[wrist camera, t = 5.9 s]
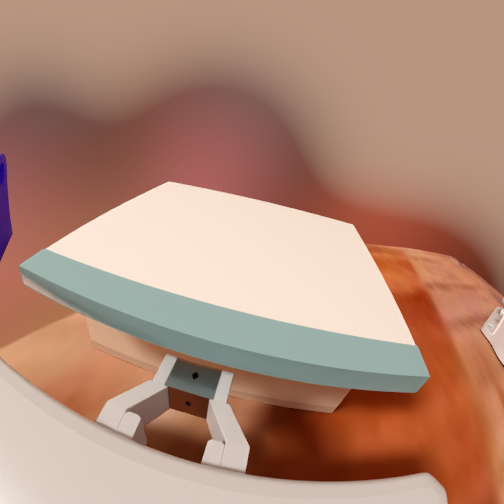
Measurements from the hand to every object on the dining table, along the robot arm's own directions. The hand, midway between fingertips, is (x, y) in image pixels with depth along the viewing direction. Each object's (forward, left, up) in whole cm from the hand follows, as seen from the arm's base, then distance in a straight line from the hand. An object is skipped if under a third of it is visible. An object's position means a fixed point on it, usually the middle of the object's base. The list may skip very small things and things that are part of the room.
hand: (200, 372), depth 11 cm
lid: (-6, -6, +2) cm, 9 cm away
